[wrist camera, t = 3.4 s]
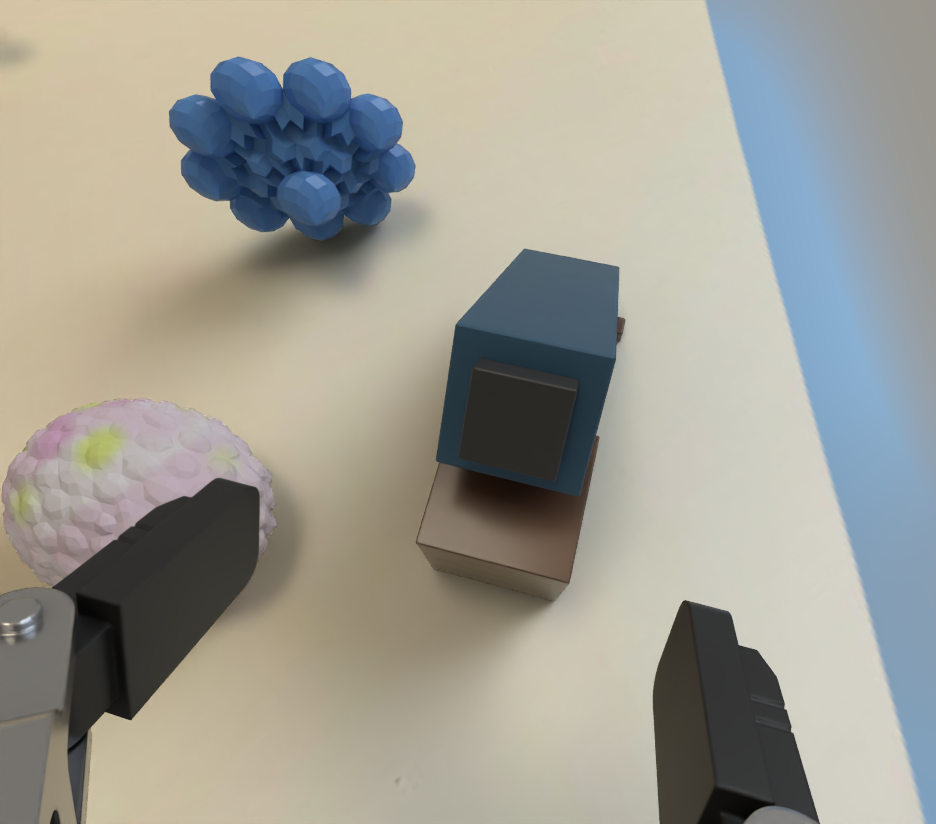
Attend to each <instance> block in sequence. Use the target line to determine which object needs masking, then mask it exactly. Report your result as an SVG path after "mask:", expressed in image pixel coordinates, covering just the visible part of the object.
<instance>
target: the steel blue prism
mask: <svg viewBox="0 0 936 824" xmlns="http://www.w3.org/2000/svg"><path fill="white" fill-rule="evenodd" d="M618 291H619V267H617V266H612V265H607V264H602V263H596V262H591V261H586V260H581V259H576V258H570V257H565V256H560V255H555V254H550V253H545V252H539V251H534V250H529V249H524V250H523V251H522V252H521V253H520V254H519V255H518V256H517V257H516V258H515V260H514V261H513V262H512V263H511V264H510V265H509V266H508V267H507V268H506V270H505V271H504V272H503V273H502V274H501V275H500V276H499V277H498V278H497V279H496V281H495V282H494V283H493V284H492V285H491V286H490V287H489V288H488V289H487V291H486V292H485V293H484V294H483V295H482V296H481V297H480V298H479V299H478V300H477V302H476V303H475V304H474V305H473V306H472V307H471V308H470V309H469V310H468V312H467V313H466V314H465V315H464V316H463V317H462V318H461V319H460V320H459V321H458V323H457V324H456V326H455V333H454V340H453V347H452V354H451V360H450V367H449V374H448V381H447V388H446V395H445V402H444V408H443V415H442V422H441V429H440V436H439V443H438V449H437V456H436V461H437V462H439V463H443V464H447V465H451V466H456V467H460V468H464V469H468V470H472V471H476V472H480V473H484V474H488V475H492V476H496V477H500V478H504V479H508V480H512V481H517V482H521V483H525V484H529V485H533V486H537V487H541V488H545V489H549V490H553V491H557V492H561V493H565V494H569V495H574V496H579V495H580V493H581V490H582V486H583V482H584V478H585V474H586V471H587V467H588V463H589V459H590V455H591V452H592V448H593V444H594V440H595V436H596V433H597V429H598V425H599V421H600V417H601V414H602V410H603V406H604V402H605V398H606V395H607V391H608V387H609V383H610V379H611V376H612V372H613V368H614V364H615V360H616V341H617V316H618Z"/></svg>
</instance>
